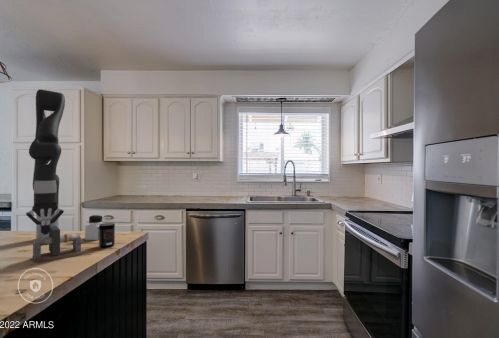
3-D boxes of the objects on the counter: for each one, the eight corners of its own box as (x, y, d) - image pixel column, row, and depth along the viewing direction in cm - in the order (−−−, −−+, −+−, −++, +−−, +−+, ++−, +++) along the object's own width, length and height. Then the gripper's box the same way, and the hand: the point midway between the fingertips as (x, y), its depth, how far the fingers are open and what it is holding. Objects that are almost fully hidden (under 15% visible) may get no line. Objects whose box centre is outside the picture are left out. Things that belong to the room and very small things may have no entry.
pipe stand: (32, 258, 116) (32, 236, 116) (77, 250, 127) (77, 231, 127) (34, 263, 110) (35, 240, 110) (81, 254, 121) (81, 234, 121)
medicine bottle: (98, 240, 145) (98, 216, 145) (84, 240, 145) (84, 216, 145) (105, 236, 152) (106, 214, 152) (92, 236, 152) (92, 214, 152)
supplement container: (110, 243, 139) (110, 222, 139) (117, 246, 135) (117, 224, 135) (96, 246, 134) (96, 224, 134) (102, 249, 130) (102, 226, 130)
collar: (48, 250, 121) (48, 226, 121) (55, 248, 123) (55, 225, 122) (52, 255, 114) (52, 230, 113) (60, 254, 115) (60, 229, 115)
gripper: (62, 190, 123) (62, 230, 123) (23, 191, 114) (23, 234, 114) (66, 191, 117) (66, 233, 118) (25, 193, 109) (25, 238, 109)
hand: (45, 234), depth 116 cm, fingers closed
